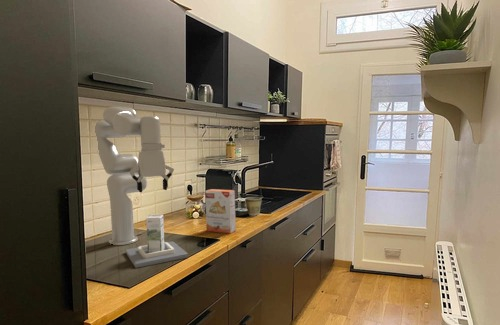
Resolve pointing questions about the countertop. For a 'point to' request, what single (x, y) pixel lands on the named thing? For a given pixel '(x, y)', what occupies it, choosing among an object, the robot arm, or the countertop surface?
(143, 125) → the robot arm
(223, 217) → the cracker box
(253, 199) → the ceramic cup
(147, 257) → the base board
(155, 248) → the syrup box
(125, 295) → the countertop surface
